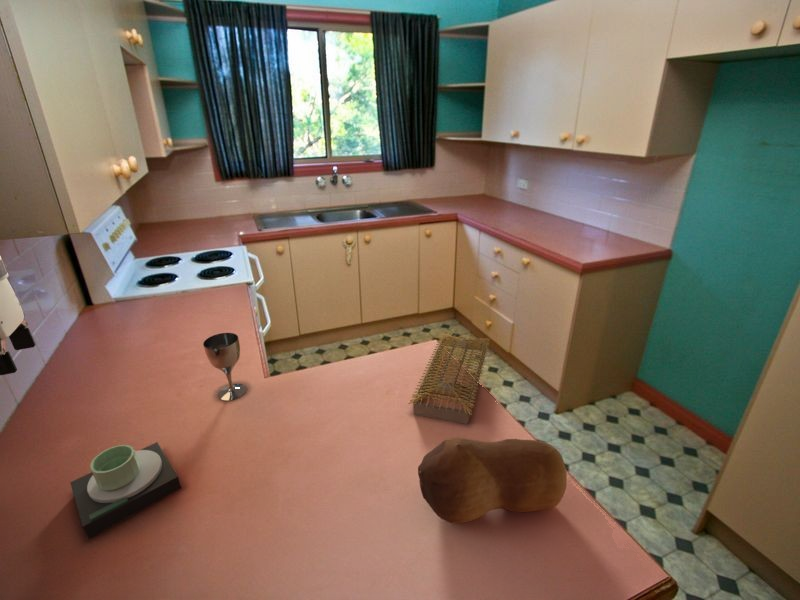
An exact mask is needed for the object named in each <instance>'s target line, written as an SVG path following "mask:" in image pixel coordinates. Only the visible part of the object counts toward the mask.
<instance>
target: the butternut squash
mask: <svg viewBox="0 0 800 600" xmlns="http://www.w3.org/2000/svg"><path fill="white" fill-rule="evenodd" d="M417 475H418V478H419V479H418V481H419V488H420V492H421V495H422V498H423V499H424V500H425V502H426V503H427V504H428V505H429V507H430V508H431V510H432V511H433V512H434V513H435V514H436V515H437V517H438V518H440V519H441V520H443V521H446V522H448V523H451V524H454V523H455V524H462V523H467V522H471V521H474V520H476V519H479V518H480V517H482V516H485V515H486V514H487V513H489V512H491V511H494V510H504V511H510V512H516V513H523V512H525V513H528V512H536V511H544V510H552V509H554V508H555V507H557V506H559V504H560V503H561V501H562V499H563V497H564V495H565V492H566V489H567V478H568V476H567V469H566V464H565V461H564V458H563V456H562V454H561V452H560V451H559V450H558V449H557V447H556V446H554V445H552V444H550V443H548V442H546V441H542V440H535V439H519V438H506V439H502V440H498V441H480V440H476V439H470V438H466V437H465V438H464V437H460V436H459V437H452V438H448V439H445V440H443V441H442V442H441V443H439V444H438V445H437V446H435V447H434V448H433V449H432V450H430V451H429V452H427V453H426V454H424V456H423V458H422V460H421V463H420V464H419V465H418V467H417Z"/></svg>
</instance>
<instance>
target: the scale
mask: <svg viewBox="0 0 800 600" xmlns="http://www.w3.org/2000/svg"><path fill="white" fill-rule="evenodd" d="M135 453H136V456H137V459H138V461H139V464H140V471H139V473H138V474H137V476H136V477H135V478H134V479H133V480H132V481H130V482H129V483H128V484H126V485H124V486H122V487H120V488H116V489H113V490H103V489H100V488H99V487H98V485H97V483H96V481H95V478H94V476H93V474H92V471H91V472H89V473H87V474H84V475H82V476H80V477H79V478H76V479H74V480H72V481H70V482H69V483H70V488H71V491H72V494H73V497H74V501H75V504H76V508H77V512H78V515H79V519H80V521H81V524H82V528H83V530H84V532H85V535H86V536H87V539H88V540H89V539H91V538H93V537H95V536H97V535H99V534H101V533H103V532H104V531H106V530H108V529H110V528H111V527H113V526H115V525H117V524H119V523H121V522H123V521H125V520H126V519H128V518H130V517H132V516H133V515H135V514H137V513H139V512H141V511H143V510H144V509H147V508H148V507H150V506H152V505H154V504H155V503H158V502H159V501H161V500H163V499H165V498H166V497H168V496H170V495H172V494H175V492H178V491H180V490H181V489H182V485H181V481H180V478H179V476H178V474H177V472H176V471H175V469H174V467H173V466H172V464H171V462H170V461H169V459H168V458H167V455H166V454H165V452H164V451H163V448H162V447H161V445H160V444H159V442H158V441H156V442H154V443H152V444H149V445H147V446H145V447H143V448H141V449H139V450H135Z"/></svg>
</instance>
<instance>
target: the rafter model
mask: <svg viewBox="0 0 800 600" xmlns="http://www.w3.org/2000/svg"><path fill="white" fill-rule="evenodd" d="M461 336H462V335H459V336H457V334H454V335H451V333H450V334H448V333H444V332H441V334H440V336H439V339H438V340H437V343H436V344H435V345H436V346H434V348H433V351H432V353H431V355H430V359H429V361H427V364H426V366H425V369H424V370H423V371H424V372H422V375H421V376H420V377H421V378H419V380H420V381H419V382H417V383H418V384H416V387H415V388H414V389H415V391H413V393H414V394H412V396H411V398H412V399H409V402H408V405H410V404H412V406H413V407H412V409H413V410H412V411H413V413H412V414H413V415H415V416H416V415H417V416H422V417H427V418H428V417H429V418H432V419H438V420H444V421H449V422H455V423H461V424H466V425H468V424H469V420H470V417H471V416H472V413H473V408H474V407H475V404H474V403H476V401H475V400H477V398H476V397H477V393H478V391H477V390H479V386H480V385H479V384H480V380H481V378H480V377H482V375H481V374H483V372H482V371H484V370H483V368H484V366H485V362H486V361H485V360H486V358H487V354H488V348H489V346H490V342H491V338H486V337H485V338H482V337H480V338H477V336H475V337H474V338H472V336H469V337H467V335H464V337H461ZM444 360H445V361H444ZM477 382H478V383H477ZM441 394H442V395H441ZM445 395H446V396H445ZM425 399H427V401H426V402H427V403H424V402H423V400H425ZM430 400H433V404H431V403H429V402H430ZM436 401H440V403H439V405H436ZM443 402H447V404H446V406H442V404H443ZM449 403H453V407H448V406H449ZM456 404H458V405H460V408H459V409H458V408H455V407H456ZM462 408H463V409H462Z"/></svg>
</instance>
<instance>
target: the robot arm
mask: <svg viewBox="0 0 800 600" xmlns="http://www.w3.org/2000/svg"><path fill="white" fill-rule="evenodd" d="M9 276H10V275H9V273H8V270H7V268H6V266H5V262H4V260H3V258H2V256H1V255H0V376H7V375H10V374H15V373H17V371H18V368H17V366H16V364H15V361H14V359H13V357H12V355H11V353H10V351H6V350H7V349H6V339H8V338H9V340H10V343H11V345H12V347H13V349H14V350H15V351H21V350H26V349H33V348H35V347H36V341H35V339H34V336H33V334H32V333H31V330H30V327H29V323H28V321H26V320H25V313H24V311H23V309H22V308H23V307H22V303H21V301H19V299H18V296H17V295H16V292H15V290H14V289H13V287H12V285H11V283H10V281H9V279H8V278H9Z"/></svg>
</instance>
